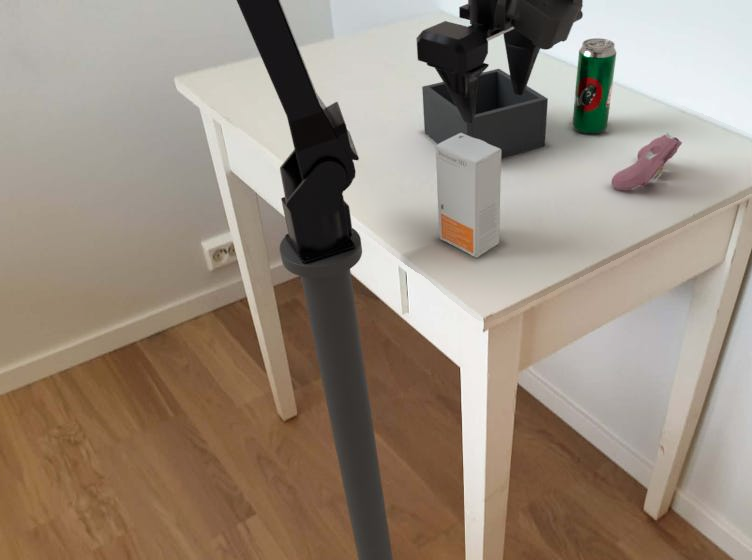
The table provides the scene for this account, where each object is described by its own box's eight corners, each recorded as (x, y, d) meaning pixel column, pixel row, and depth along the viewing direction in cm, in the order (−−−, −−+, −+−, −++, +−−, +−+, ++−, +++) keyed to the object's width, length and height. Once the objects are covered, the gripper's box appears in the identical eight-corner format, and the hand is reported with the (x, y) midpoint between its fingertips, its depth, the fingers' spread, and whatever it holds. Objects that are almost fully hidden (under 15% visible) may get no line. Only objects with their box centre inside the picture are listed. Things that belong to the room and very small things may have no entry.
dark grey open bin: (467, 168, 98) (466, 119, 93) (424, 132, 106) (422, 86, 101) (545, 145, 102) (548, 98, 98) (498, 113, 111) (498, 68, 106)
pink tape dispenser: (633, 208, 93) (665, 169, 87) (605, 185, 93) (636, 145, 87) (662, 175, 99) (694, 137, 93) (636, 154, 99) (666, 115, 93)
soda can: (611, 133, 105) (623, 48, 97) (578, 137, 104) (586, 51, 96) (600, 119, 108) (609, 35, 100) (567, 122, 108) (574, 38, 100)
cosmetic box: (437, 240, 85) (433, 144, 77) (462, 225, 87) (460, 130, 79) (476, 260, 82) (475, 162, 74) (501, 244, 84) (503, 147, 76)
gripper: (508, -13, 60) (503, 161, 71) (620, -59, 71) (601, 98, 82) (408, -35, 66) (417, 130, 76) (526, -74, 76) (520, 75, 87)
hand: (494, 108), depth 80 cm, fingers open, 9 cm apart
